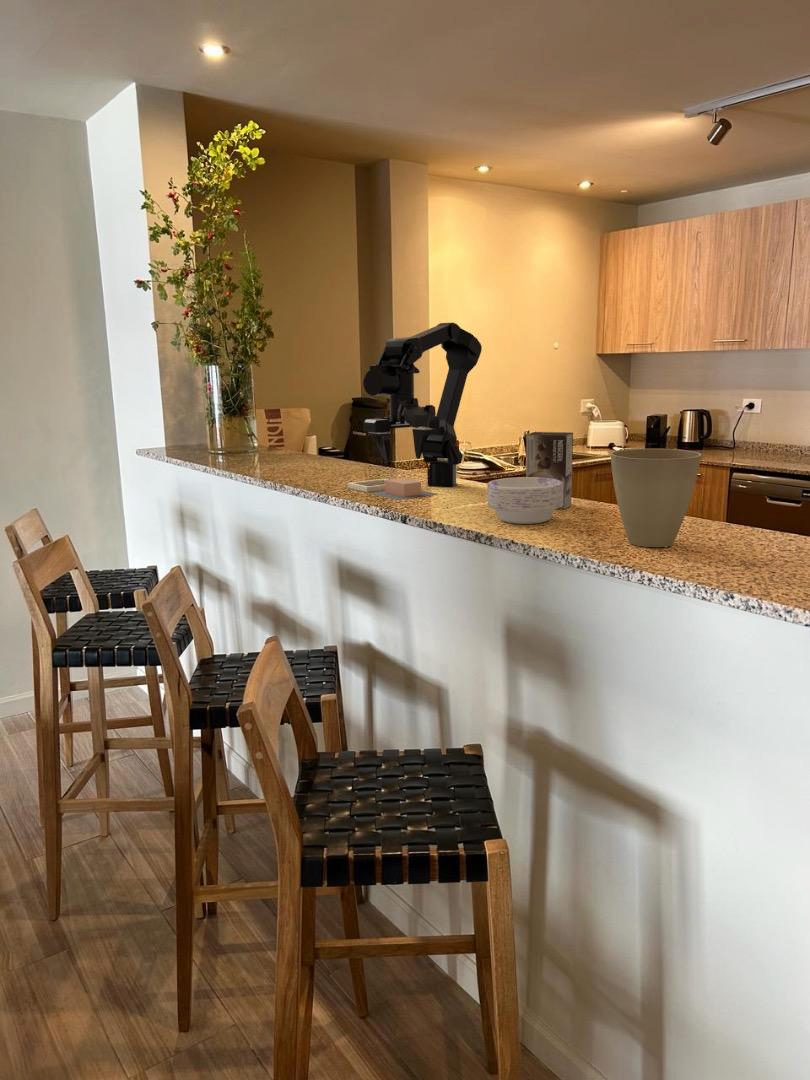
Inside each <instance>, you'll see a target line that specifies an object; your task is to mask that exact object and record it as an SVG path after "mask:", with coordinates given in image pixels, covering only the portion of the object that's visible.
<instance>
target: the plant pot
mask: <svg viewBox="0 0 810 1080" xmlns="http://www.w3.org/2000/svg"><path fill="white" fill-rule="evenodd" d="M609 456H610V464H611V473H612V480H613V488H614V492H615V497H616V502H617V506H618V510H619V511H618V512H619V514H620V517H621V518H620V519H621V521H622V525H623V529H624V531H625V535H626V537H627V540H628V543H629V542H630V543H631V544H630V543H629V544H630V545H632V544H634V545H633V546H635V545H637V546H636V547H639V546H644V547H643V548H646V547H664V548H667V547H666V546H669V547H671V546H673V545H674V543H675V540H676V538H677V536H678V533H679V532H680V529H681V527H682V525H683V522H684V520H685V516H686V514H687V511H688V508H689V505H690V502H691V499H692V496H693V492H694V489H695V487H696V486H695V485H696V481H697V477H698V473H699V468H700V464H701V459H702V453H700V452H697V451H692V450H687V449H686V450H685V449H675V448H674V449H673V448H631V449H630V448H628V449H618V450H614V451H612V452H610V455H609ZM672 544H673V545H672Z"/></svg>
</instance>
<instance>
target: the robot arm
mask: <svg viewBox="0 0 810 1080" xmlns="http://www.w3.org/2000/svg"><path fill="white" fill-rule="evenodd" d="M439 345H440V346H441V348H442V349H443V351H445V352H446V353H445V354H446V355H445V360H446V362H447V363H446V364H447V366H448V370H447V374H446V379H445V381H444V386H443V389H442V392H441V397H440V401H439V404H438V408H437V411H436V406H435V405H433V404H426V405H425V406H419V405H420V404H419V399H418V397H415V374H419V373H420V369H419V368H418V367H416V366H415V363H416V362H418V360H419V359H421V358H422V356H423V353H425V352H426V351H428V350H429V351H430V350H431V349H433V348H435V347H437V346H439ZM482 350H483V349H482V343H481V342H480V341H479V339H478V338H477V337H476V336H474V335H473V334H472V333H471V332H469V331H467V330H465V329H463V328H461V327H460V326H459V324H457V323H455V322H442V323H441V322H440V323H438V324H437V325H435V326H434V327H431V328H428V329H426V330H423V331H421V332H419V333H417V334H415V335H411V336H407V337H406V336H405V337H404V336H403V337H395V338H390V339H387V341H385V346H384V348H383V350H382V352H381V355H380V357H379V358H378V361H377V363H376V364H370V365H369V370H368V371H367V372H366V374H365V375H364V378H363V381H362V384H363V389H364V390H365V392H366V393H367V394H368V395H369V396H372V397H374V396H386V395H387V396H388V395H389V397H387V398H386V403H388V404H389V415H386V418H385V419H384V418H369V419H368V418H367V419H365V420H364V422H363V423H362V424H363V428H362V429H363V430H362V431H363V432H367V433H368V434H367V435H368V436H371V437H372V439H373V441H374V442H375V445H377V448H378V449H379V452H380V454H381V456H382V458H383V461H384V462H385V463H390V439H391V437H392V432H390V430H391V429H401V428H402V429H403V428H412V436H413V437H412V438H413V447H414V455H415V458H416V459H417V460H420V459H421V457H422V458H423V462H424V463H425V464H426V463H427V464H428V463H429V464H428V465H429V467H428V468H427V470H426V471H427V478H426V479H427V480H426V481H427V487H431V488H432V487H433V488H454V487H455V486H457V485H458V483H457V465H460V464H462V461H463V458H464V457H463V453H462V452H461V450H460V449H459V447H458V446H457V439H458V437H457V433H456V430H455V422H456V418H457V416H458V412H459V408H460V405H461V400H462V396H463V393H464V389H465V386H466V381H467V378H468V374H469V373H470V372H471V371H472V370H473V369H474V368H475V366H476V365H477V364H478V363H479V362H478V361H479V359H480V357H481V353H482Z"/></svg>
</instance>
